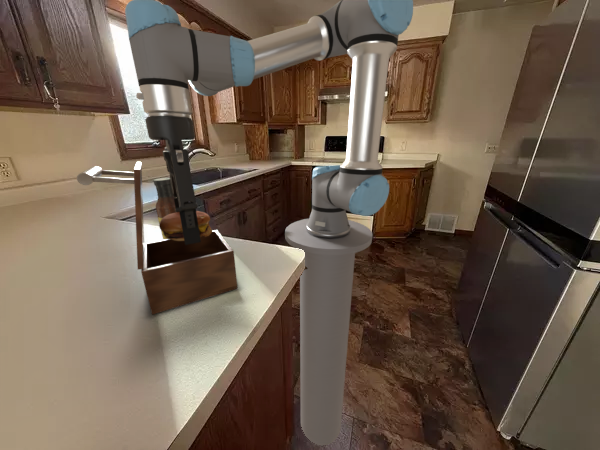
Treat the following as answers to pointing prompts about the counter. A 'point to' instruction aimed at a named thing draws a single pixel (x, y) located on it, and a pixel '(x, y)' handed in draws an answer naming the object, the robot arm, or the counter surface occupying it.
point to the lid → (94, 176)
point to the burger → (174, 227)
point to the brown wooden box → (187, 271)
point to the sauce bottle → (164, 199)
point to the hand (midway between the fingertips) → (188, 233)
